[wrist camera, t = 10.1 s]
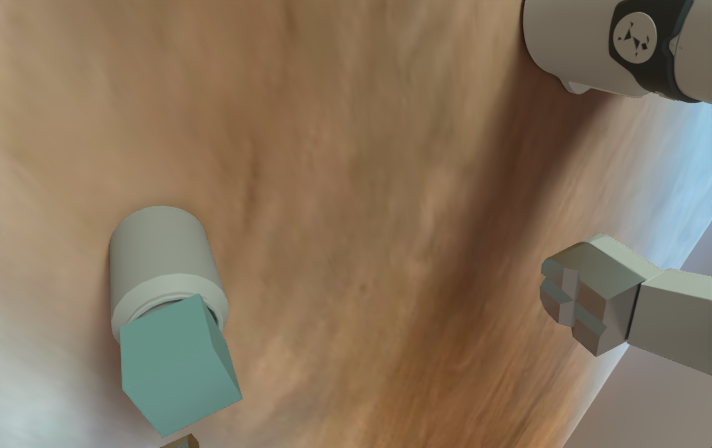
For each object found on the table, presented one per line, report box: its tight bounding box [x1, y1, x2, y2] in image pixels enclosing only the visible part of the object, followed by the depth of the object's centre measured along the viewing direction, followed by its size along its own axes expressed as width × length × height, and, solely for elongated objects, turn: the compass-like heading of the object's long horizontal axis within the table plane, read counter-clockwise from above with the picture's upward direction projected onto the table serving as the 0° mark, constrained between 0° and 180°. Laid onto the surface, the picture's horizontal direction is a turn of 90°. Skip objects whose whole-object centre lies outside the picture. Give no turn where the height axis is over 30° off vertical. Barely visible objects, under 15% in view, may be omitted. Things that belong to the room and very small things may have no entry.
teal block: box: [120, 293, 242, 438], centre depth 30 cm, size 5×5×5 cm
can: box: [109, 206, 228, 347], centre depth 36 cm, size 8×8×12 cm
